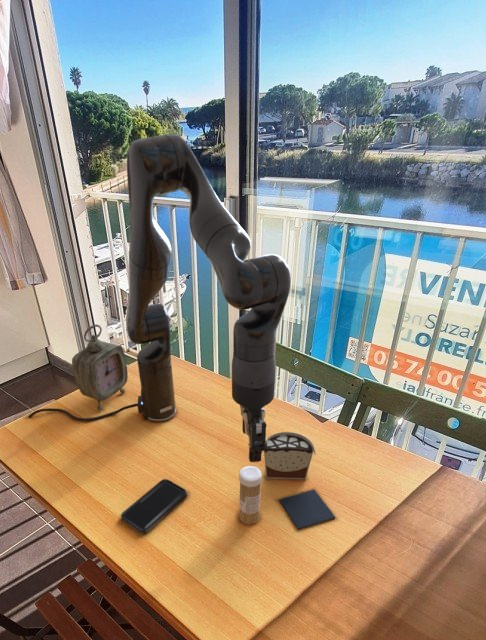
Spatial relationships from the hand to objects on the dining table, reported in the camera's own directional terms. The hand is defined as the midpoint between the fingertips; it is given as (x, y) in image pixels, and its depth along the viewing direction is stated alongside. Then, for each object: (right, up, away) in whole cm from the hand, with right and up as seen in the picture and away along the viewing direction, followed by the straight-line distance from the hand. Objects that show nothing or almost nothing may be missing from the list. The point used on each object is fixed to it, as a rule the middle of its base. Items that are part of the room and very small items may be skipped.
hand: (251, 446), depth 88 cm
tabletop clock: (-39, +11, +54) cm, 67 cm away
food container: (+11, -8, +23) cm, 27 cm away
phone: (-20, -15, +16) cm, 30 cm away
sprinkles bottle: (+1, -17, +12) cm, 21 cm away
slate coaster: (+14, -15, +13) cm, 24 cm away
